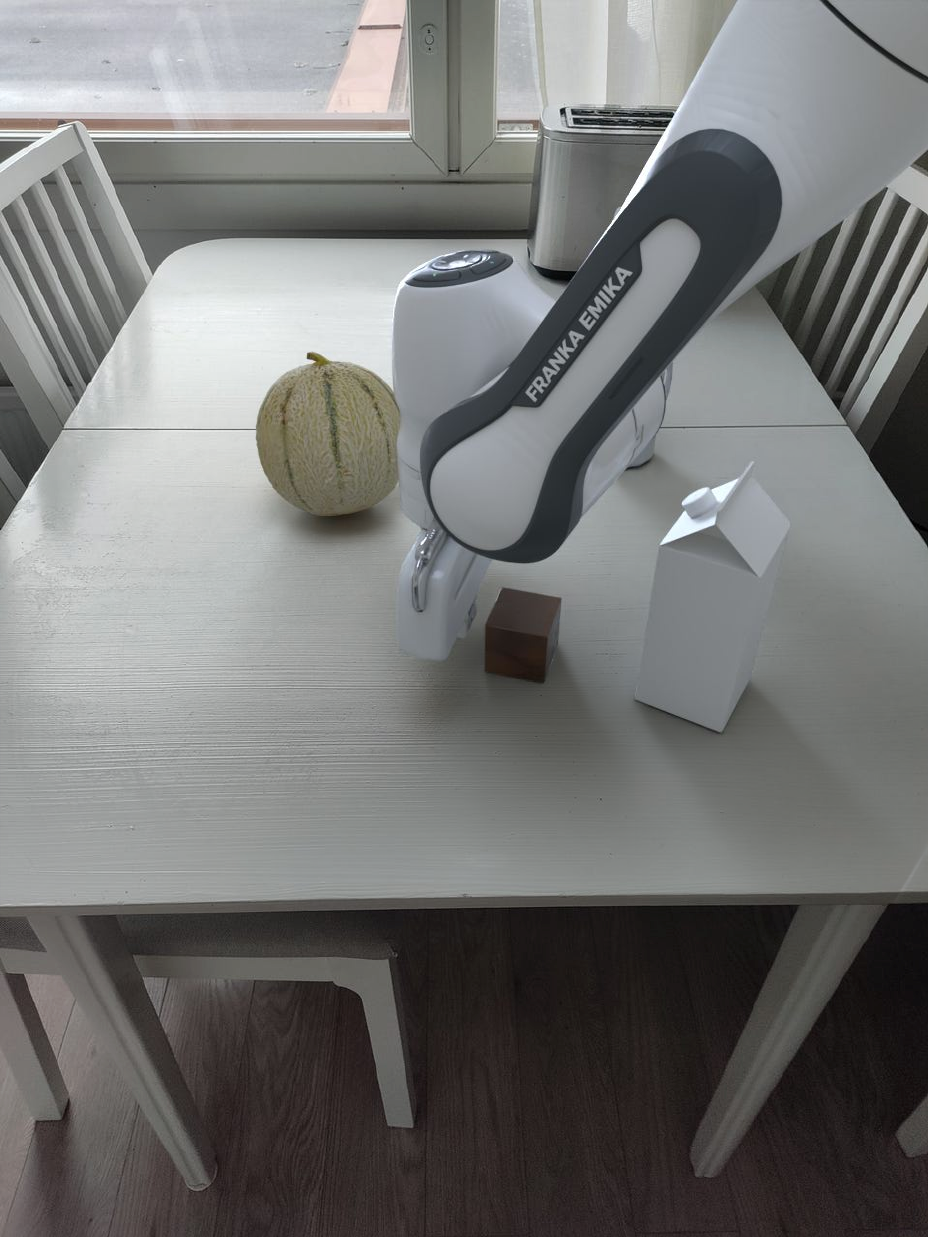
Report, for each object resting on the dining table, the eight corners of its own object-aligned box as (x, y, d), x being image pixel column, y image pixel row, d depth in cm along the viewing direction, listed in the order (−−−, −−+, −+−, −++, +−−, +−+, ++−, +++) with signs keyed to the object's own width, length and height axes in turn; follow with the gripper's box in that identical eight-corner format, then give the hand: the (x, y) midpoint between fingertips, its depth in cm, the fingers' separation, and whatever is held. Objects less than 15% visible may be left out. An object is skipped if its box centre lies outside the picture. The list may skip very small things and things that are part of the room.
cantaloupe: (336, 565, 88) (320, 419, 78) (235, 507, 95) (208, 367, 86) (443, 498, 97) (441, 359, 87) (343, 449, 104) (330, 315, 94)
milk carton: (750, 678, 77) (804, 474, 64) (721, 735, 72) (773, 527, 60) (666, 648, 79) (703, 447, 67) (633, 701, 75) (665, 495, 62)
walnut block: (558, 643, 80) (561, 597, 77) (544, 684, 76) (547, 637, 73) (500, 632, 81) (501, 586, 78) (484, 671, 77) (484, 625, 74)
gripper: (459, 573, 61) (461, 723, 70) (534, 421, 76) (527, 561, 85) (367, 556, 62) (380, 705, 71) (458, 411, 77) (459, 549, 86)
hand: (461, 625), depth 78 cm, fingers closed
